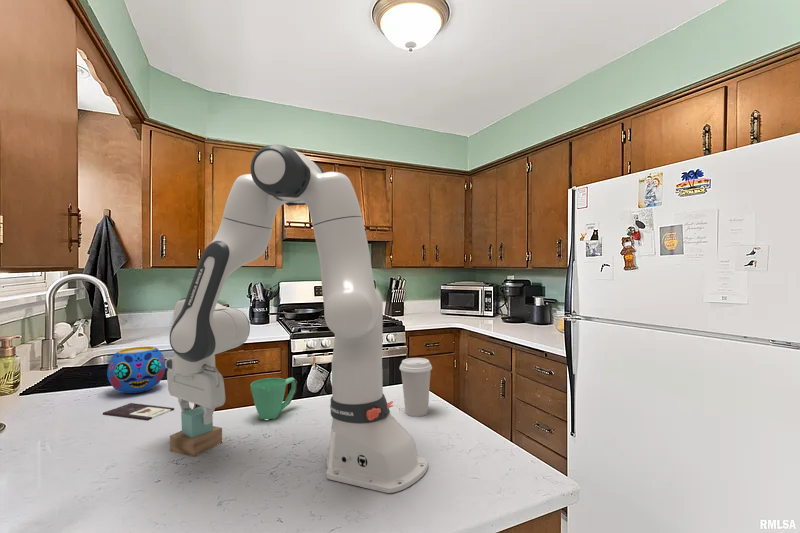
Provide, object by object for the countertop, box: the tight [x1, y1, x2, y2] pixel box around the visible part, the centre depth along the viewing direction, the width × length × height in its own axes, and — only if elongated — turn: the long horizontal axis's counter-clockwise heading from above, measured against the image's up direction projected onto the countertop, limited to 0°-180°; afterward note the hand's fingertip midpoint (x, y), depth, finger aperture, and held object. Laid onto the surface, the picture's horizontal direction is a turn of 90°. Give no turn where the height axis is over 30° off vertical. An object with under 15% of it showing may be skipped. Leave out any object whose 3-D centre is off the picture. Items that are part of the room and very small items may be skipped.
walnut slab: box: [169, 425, 223, 458], centre depth 97 cm, size 8×8×4 cm
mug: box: [249, 377, 298, 420], centre depth 118 cm, size 15×10×10 cm
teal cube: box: [180, 405, 214, 438], centre depth 97 cm, size 5×5×5 cm
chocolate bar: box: [102, 402, 175, 421], centre depth 122 cm, size 9×1×18 cm
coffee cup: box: [399, 357, 433, 418], centre depth 117 cm, size 10×10×15 cm
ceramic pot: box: [106, 345, 167, 394], centre depth 144 cm, size 18×18×15 cm
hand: (196, 419), depth 97 cm, fingers open, 8 cm apart
